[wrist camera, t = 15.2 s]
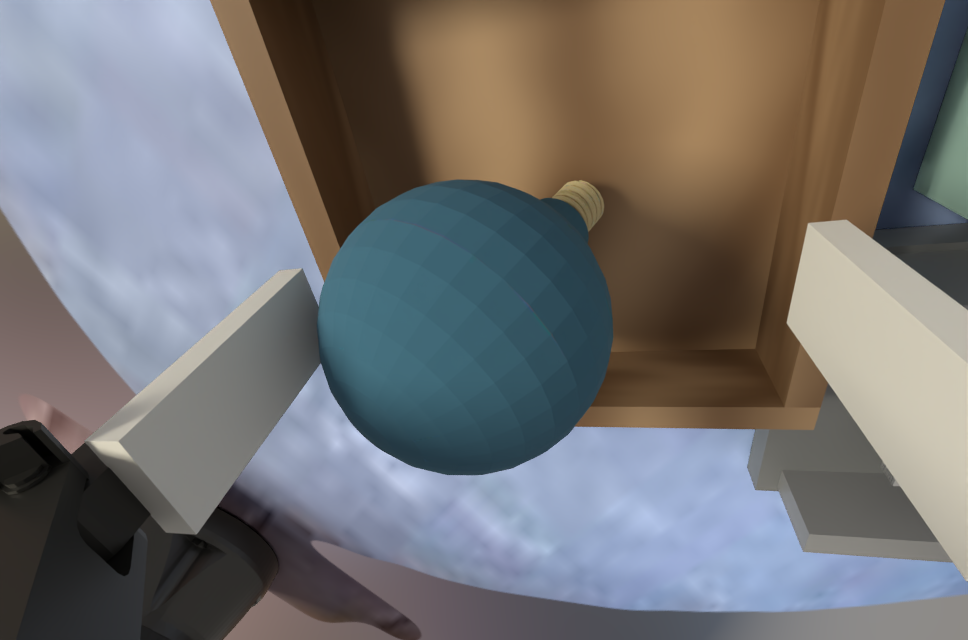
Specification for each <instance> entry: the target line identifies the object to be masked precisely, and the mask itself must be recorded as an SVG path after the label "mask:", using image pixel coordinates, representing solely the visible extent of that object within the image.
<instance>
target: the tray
mask: <svg viewBox="0 0 968 640" xmlns="http://www.w3.org/2000/svg"><path fill="white" fill-rule="evenodd" d="M210 1H211V4H212V6H213V9H214V11H215V14H216V16H217V18H218V21H219V23H220V26H221V28H222V31H223V33H224V36H225V38H226V41H227V43H228V46H229V48H230V51H231V53H232V55H233V58H234V60H235V63H236V65H237V68H238V70H239V73H240V75H241V78H242V80H243V83H244V85H245V88H246V90H247V92H248V95H249V97H250V100H251V102H252V105H253V107H254V110H255V112H256V115H257V117H258V120H259V122H260V125H261V127H262V129H263V132H264V134H265V137H266V139H267V142H268V144H269V147H270V149H271V152H272V154H273V157H274V159H275V162H276V164H277V166H278V169H279V171H280V174H281V176H282V179H283V181H284V184H285V186H286V189H287V191H288V194H289V196H290V198H291V201H292V203H293V206H294V208H295V211H296V213H297V216H298V218H299V221H300V223H301V226H302V228H303V231H304V233H305V235H306V238H307V240H308V243H309V245H310V248H311V250H312V253H313V255H314V258H315V260H316V263H317V265H318V268H319V270H320V272H321V275H322V277H323V280H324V282H325V280H326V277H327V274H328V271H329V269H330V266H331V263H332V261H333V259H334V257H335V256H336V254H337V253H338V251H339V250H340V248H341V247H342V245H343V244H344V242H345V241H346V239H347V238H348V236H349V235H350V234H351V233H352V232H353V231H354V230H355V228H356V227H357V226H358V225H359V224H360V223H361V222H363V221H364V220H365V219H366V218H367V217H368V216H369V215H370V214H371V213H372V212H373V211H374V210H375V209H376V208H378V207H379V206H381V205H383V204H385V203H386V202H388V201H390V200H392V199H394V198H395V197H397V196H399V195H401V194H403V193H405V192H407V191H409V190H412V189H414V188H416V187H420V186H424V185H428V184H431V183H435V182H440V181H448V180H457V179H459V180H482V181H490V182H498V183H501V184H504V185H506V186H509V187H512V188H515V189H518V190H521V191H523V192H526V193H528V194H530V195H532V196H534V197H536V198H538V199H539V200H540V199H543V198H552V197H553V196H554V195H555V194H556V193H557V192H558V191H559V190H560V189H561V188H562V187H563V186H564V185H565V184H566V183H568V182H571V181H579V180H582V181H585V182H588V183H590V184H591V185H593V186H594V187H595V188H596V189H597V190H598V191H599V192H600V194H601V196H602V198H603V202H604V212H603V214H602V216H601V218H600V219H599V220H598V221H597V223H596V224H595V225H594V226H593V227H592V228H591V230H590V231H589V232H588V234H589V239H588V245H589V247H590V248H591V250H592V252H593V254H594V256H595V258H596V260H597V262H598V264H599V266H600V269H601V271H602V273H603V275H604V277H605V279H606V283H607V286H608V290H609V294H610V297H611V306H612V317H613V343H612V348H611V353H610V358H609V363H608V367H607V371H606V375H605V378H604V381H603V383H602V385H601V387H600V389H599V391H598V393H597V396H596V398H595V400H594V402H593V403H592V404H591V406H590V407H589V409H588V410H587V411H586V413H585V414H584V415H583V417H582V418H581V419H580V420H579V422H578V423H577V424H576V425H575V427H643V428H711V429H779V430H814V427H815V424H816V421H817V418H818V414H819V411H820V408H821V405H822V401H823V398H824V395H825V392H826V388H827V385H828V382H827V380H826V379H825V378H824V376H823V375H822V373H821V372H820V370H819V369H818V367H817V366H816V365H815V363H814V362H813V360H812V359H811V357H810V356H809V355H808V353H807V352H806V350H805V349H804V347H803V346H802V344H801V343H800V342H799V340H798V339H797V337H796V336H795V334H794V333H793V332H792V330H791V329H790V327H789V326H788V324H787V318H788V314H789V309H790V305H791V300H792V295H793V291H794V286H795V281H796V277H797V272H798V268H799V263H800V258H801V254H802V249H803V244H804V240H805V235H806V231H807V226H808V223H814V222H826V221H837V220H848V221H849V222H850V223H852V224H853V225H854V226H856V227H857V228H858V229H860V230H861V231H862V232H864V233H865V234H866V235H868V236H869V237H870V238H873V235H874V232H875V228H876V225H877V222H878V219H879V215H880V212H881V209H882V206H883V202H884V199H885V196H886V192H887V189H888V186H889V183H890V179H891V176H892V173H893V170H894V166H895V163H896V160H897V157H898V153H899V150H900V147H901V143H902V140H903V137H904V134H905V130H906V127H907V124H908V121H909V117H910V114H911V111H912V108H913V104H914V101H915V98H916V95H917V91H918V88H919V85H920V81H921V78H922V75H923V72H924V68H925V65H926V62H927V59H928V55H929V52H930V49H931V46H932V42H933V39H934V36H935V33H936V29H937V26H938V23H939V19H940V16H941V13H942V10H943V6H944V3H945V0H210Z"/></svg>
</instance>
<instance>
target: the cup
mask: <svg viewBox="0 0 968 640" xmlns="http://www.w3.org/2000/svg"><path fill="white" fill-rule="evenodd" d="M913 189H914V190H915V191H917V192H919V193H921V194H923V195H924V196H926V197H928V198H930V199H932V200H933V201H935V202H937V203H939V204H940V205H942V206H944V207H946V208H948V209H949V210H951V211H953V212H955V213H957V214H958V215H960V216H962V217H964V218H966V219H967V220H968V28H967V31H966V34H965V37H964V40H963V43H962V46H961V49H960V52H959V55H958V58H957V61H956V64H955V66H954V69H953V72H952V75H951V78H950V81H949V84H948V87H947V90H946V93H945V96H944V99H943V102H942V105H941V108H940V111H939V114H938V117H937V120H936V123H935V126H934V129H933V132H932V135H931V138H930V141H929V144H928V147H927V150H926V153H925V156H924V159H923V161H922V164H921V167H920V170H919V173H918V176H917V179H916V182H915V185H914V188H913Z"/></svg>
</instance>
